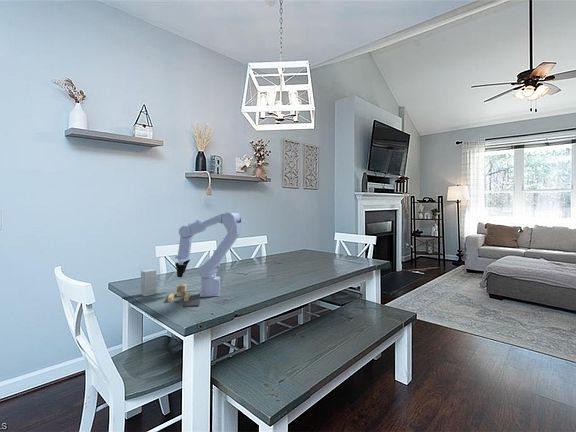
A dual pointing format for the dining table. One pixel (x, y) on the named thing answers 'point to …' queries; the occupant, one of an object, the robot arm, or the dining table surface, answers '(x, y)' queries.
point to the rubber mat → (192, 303)
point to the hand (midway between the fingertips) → (181, 274)
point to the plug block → (181, 289)
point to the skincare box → (148, 282)
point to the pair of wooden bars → (173, 297)
